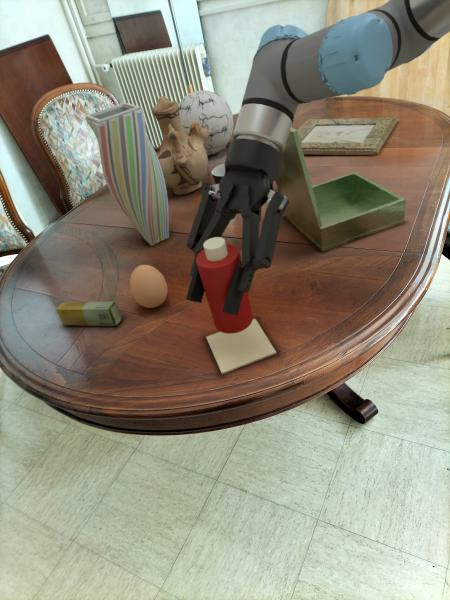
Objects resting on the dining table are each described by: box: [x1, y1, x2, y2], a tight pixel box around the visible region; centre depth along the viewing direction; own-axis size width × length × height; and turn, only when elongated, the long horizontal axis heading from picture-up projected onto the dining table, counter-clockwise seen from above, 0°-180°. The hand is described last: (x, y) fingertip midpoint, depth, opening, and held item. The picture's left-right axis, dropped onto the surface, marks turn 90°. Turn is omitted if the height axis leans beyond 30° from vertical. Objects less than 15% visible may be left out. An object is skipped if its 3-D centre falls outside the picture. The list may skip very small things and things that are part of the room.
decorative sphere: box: [178, 89, 235, 157], centre depth 138 cm, size 20×20×20 cm
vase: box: [84, 101, 170, 246], centre depth 94 cm, size 14×14×30 cm
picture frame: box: [296, 116, 398, 156], centre depth 130 cm, size 27×30×3 cm
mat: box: [205, 318, 277, 375], centre depth 67 cm, size 9×9×1 cm
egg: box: [129, 264, 168, 309], centre depth 78 cm, size 7×7×9 cm
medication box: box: [56, 300, 123, 327], centre depth 79 cm, size 12×3×4 cm, turn 78°
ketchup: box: [196, 236, 254, 334], centre depth 60 cm, size 6×6×14 cm
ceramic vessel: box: [151, 95, 212, 196], centre depth 116 cm, size 18×19×25 cm
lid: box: [274, 126, 322, 227], centre depth 81 cm, size 19×19×1 cm
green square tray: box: [283, 171, 406, 253], centre depth 90 cm, size 19×19×5 cm
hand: (211, 306), depth 59 cm, fingers closed on ketchup, 6 cm apart
